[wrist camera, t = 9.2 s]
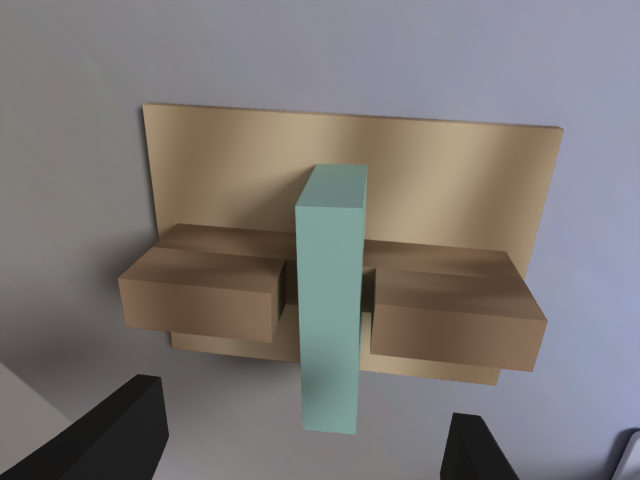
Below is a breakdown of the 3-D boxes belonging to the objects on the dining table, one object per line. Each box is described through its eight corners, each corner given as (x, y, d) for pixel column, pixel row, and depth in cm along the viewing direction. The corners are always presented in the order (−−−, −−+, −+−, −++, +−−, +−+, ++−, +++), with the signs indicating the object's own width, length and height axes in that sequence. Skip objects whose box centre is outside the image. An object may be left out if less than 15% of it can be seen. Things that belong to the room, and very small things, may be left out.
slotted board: (557, 126, 17) (636, 164, 11) (493, 376, 22) (528, 480, 16) (149, 102, 18) (59, 126, 13) (177, 341, 23) (120, 426, 18)
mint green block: (367, 164, 17) (362, 208, 13) (360, 349, 21) (355, 434, 17) (316, 163, 18) (295, 206, 13) (319, 347, 21) (303, 429, 17)
